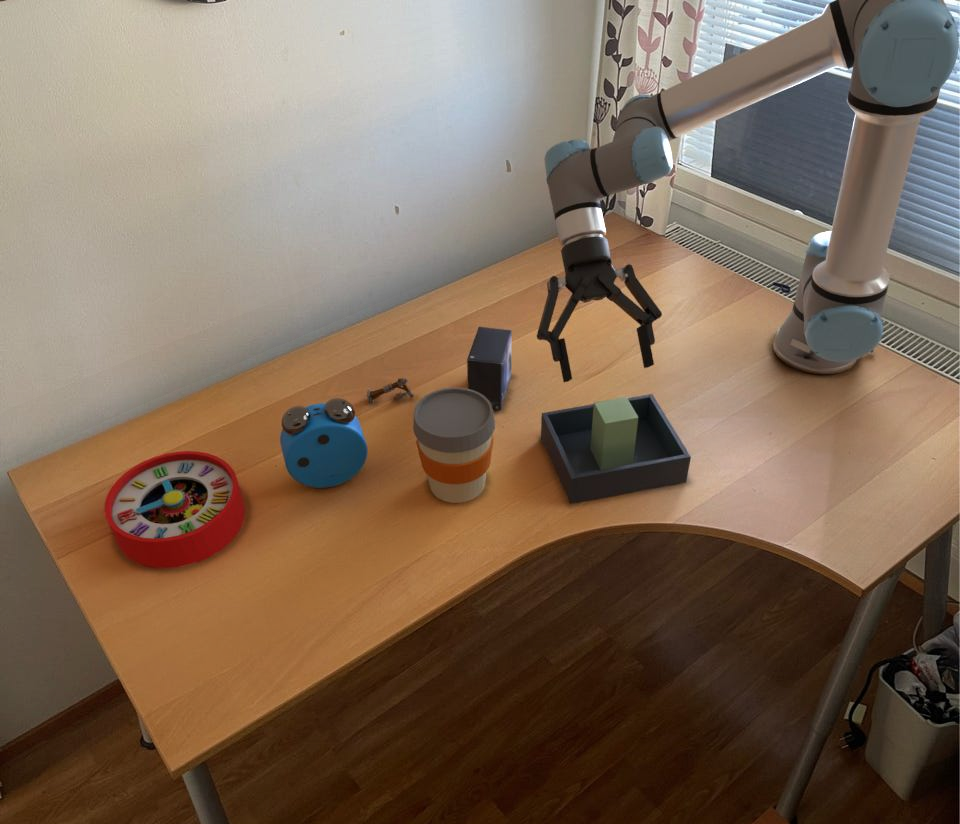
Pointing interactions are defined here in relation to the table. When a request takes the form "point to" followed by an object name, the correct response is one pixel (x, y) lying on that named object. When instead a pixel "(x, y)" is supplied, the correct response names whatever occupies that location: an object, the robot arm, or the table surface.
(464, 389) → the reusable coffee cup
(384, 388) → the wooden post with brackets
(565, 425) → the bin
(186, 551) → the toy clock
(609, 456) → the block
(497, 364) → the small box
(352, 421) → the alarm clock
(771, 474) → the table surface
